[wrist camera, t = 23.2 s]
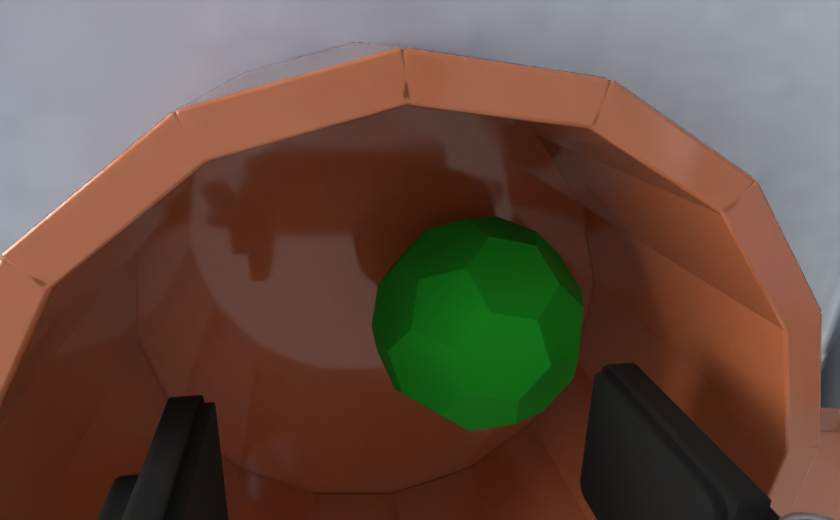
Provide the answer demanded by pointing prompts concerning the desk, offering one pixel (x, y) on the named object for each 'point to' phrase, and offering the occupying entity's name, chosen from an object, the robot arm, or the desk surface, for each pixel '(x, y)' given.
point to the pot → (357, 287)
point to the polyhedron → (479, 322)
